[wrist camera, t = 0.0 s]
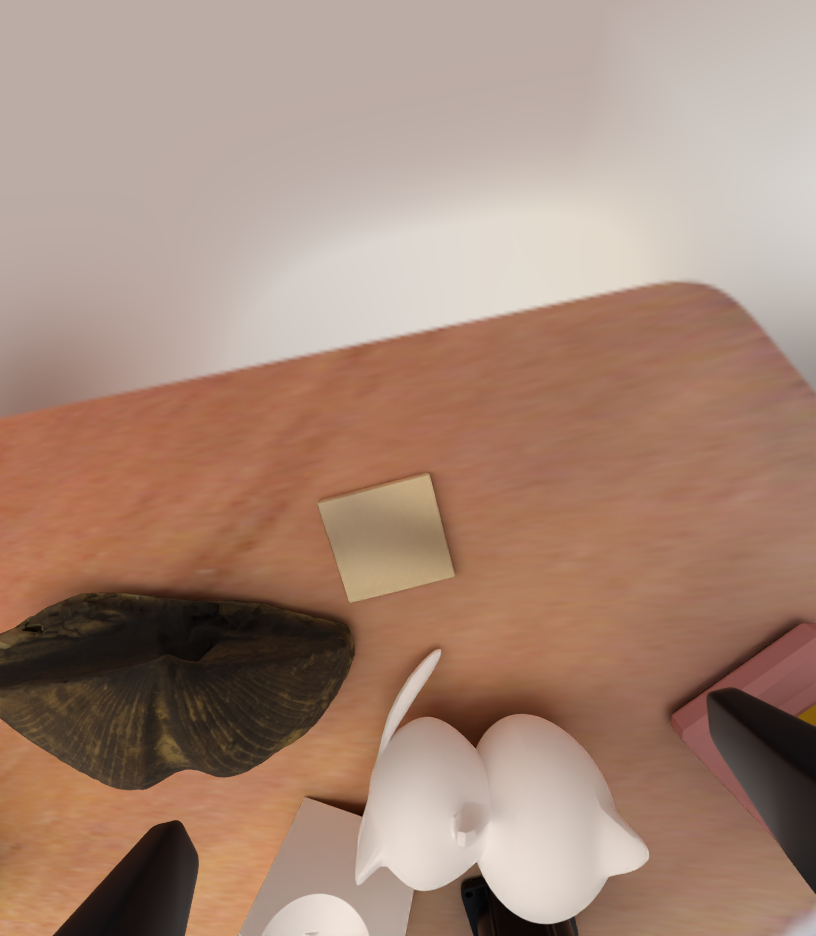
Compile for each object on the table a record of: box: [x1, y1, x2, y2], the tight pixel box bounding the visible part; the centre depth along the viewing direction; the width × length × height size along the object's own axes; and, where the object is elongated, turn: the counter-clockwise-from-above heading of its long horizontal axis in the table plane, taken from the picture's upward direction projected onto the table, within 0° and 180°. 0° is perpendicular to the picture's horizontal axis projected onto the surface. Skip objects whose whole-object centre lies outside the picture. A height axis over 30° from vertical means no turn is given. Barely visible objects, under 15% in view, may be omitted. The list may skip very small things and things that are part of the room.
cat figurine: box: [355, 649, 649, 924], centre depth 22 cm, size 9×11×12 cm
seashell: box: [0, 593, 355, 790], centre depth 20 cm, size 16×9×7 cm, turn 84°
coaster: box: [317, 472, 455, 603], centre depth 22 cm, size 6×6×1 cm
